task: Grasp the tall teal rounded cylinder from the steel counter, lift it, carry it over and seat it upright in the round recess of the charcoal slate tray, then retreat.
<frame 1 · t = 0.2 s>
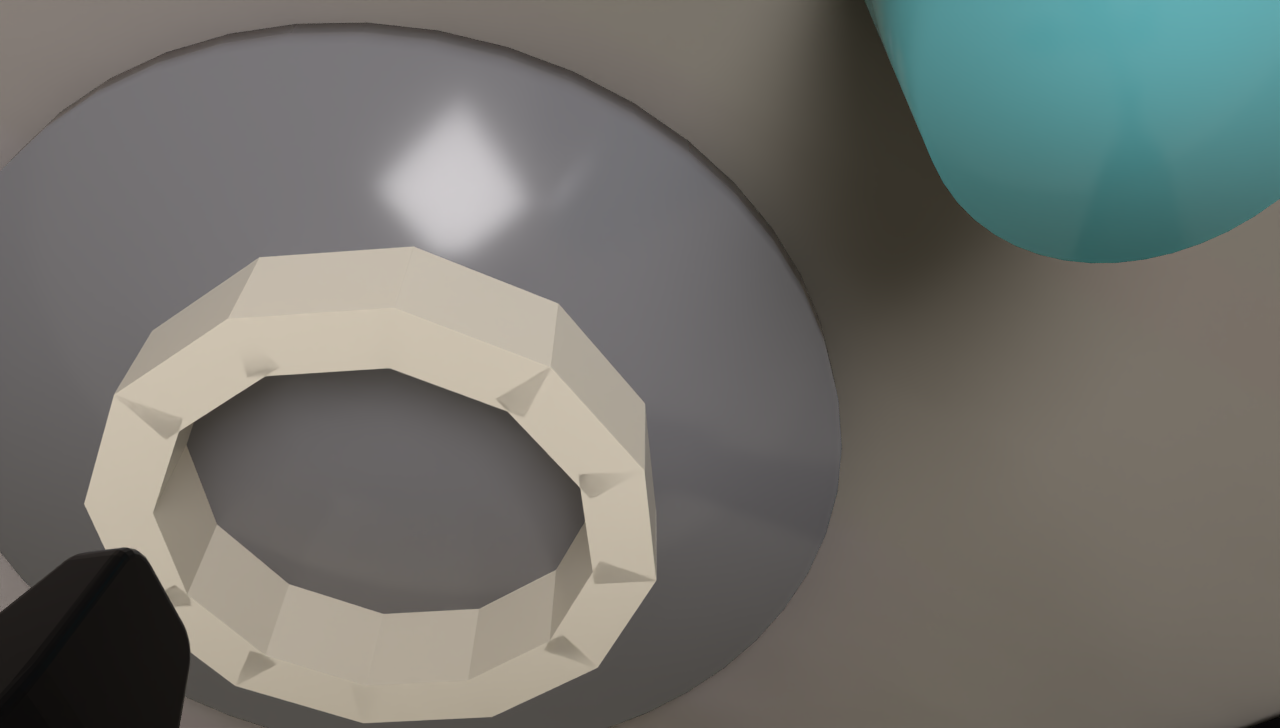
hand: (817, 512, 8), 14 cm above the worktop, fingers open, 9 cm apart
round tray: (403, 442, 25), on the worktop
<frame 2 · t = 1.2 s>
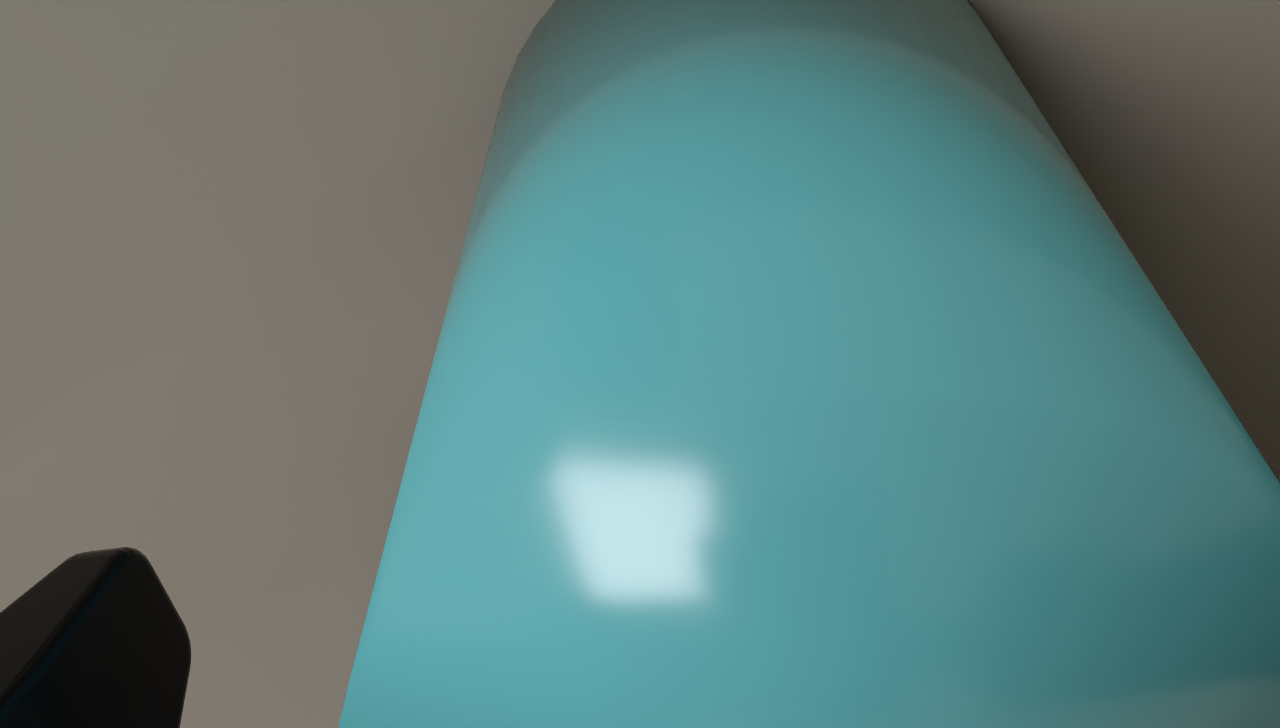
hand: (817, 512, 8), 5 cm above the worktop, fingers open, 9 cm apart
teal rounded cylinder: (752, 174, 12), on the worktop
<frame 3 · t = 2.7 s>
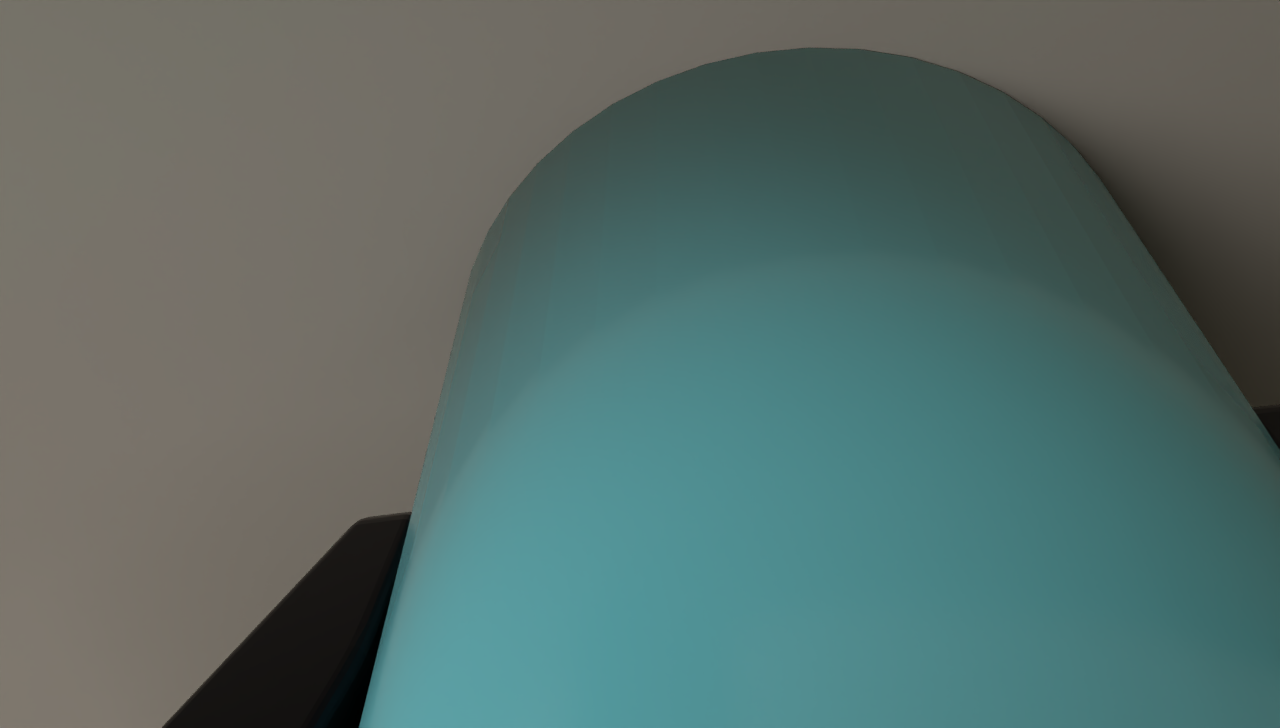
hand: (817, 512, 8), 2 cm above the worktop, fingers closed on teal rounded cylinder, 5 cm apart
teal rounded cylinder: (794, 372, 9), on the worktop, touching gripper
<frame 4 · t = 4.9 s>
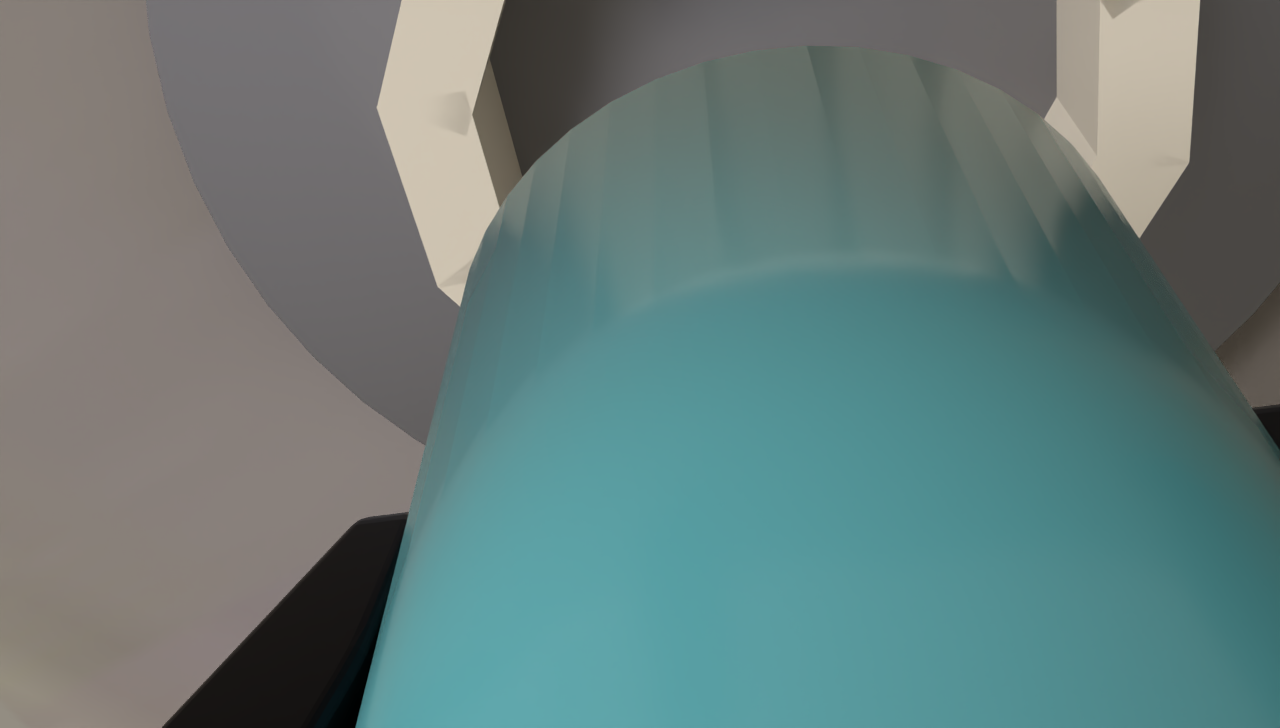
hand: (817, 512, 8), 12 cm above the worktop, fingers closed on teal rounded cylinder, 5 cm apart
round tray: (769, 52, 18), on the worktop
teal rounded cylinder: (793, 370, 9), point 10 cm above the worktop, touching gripper
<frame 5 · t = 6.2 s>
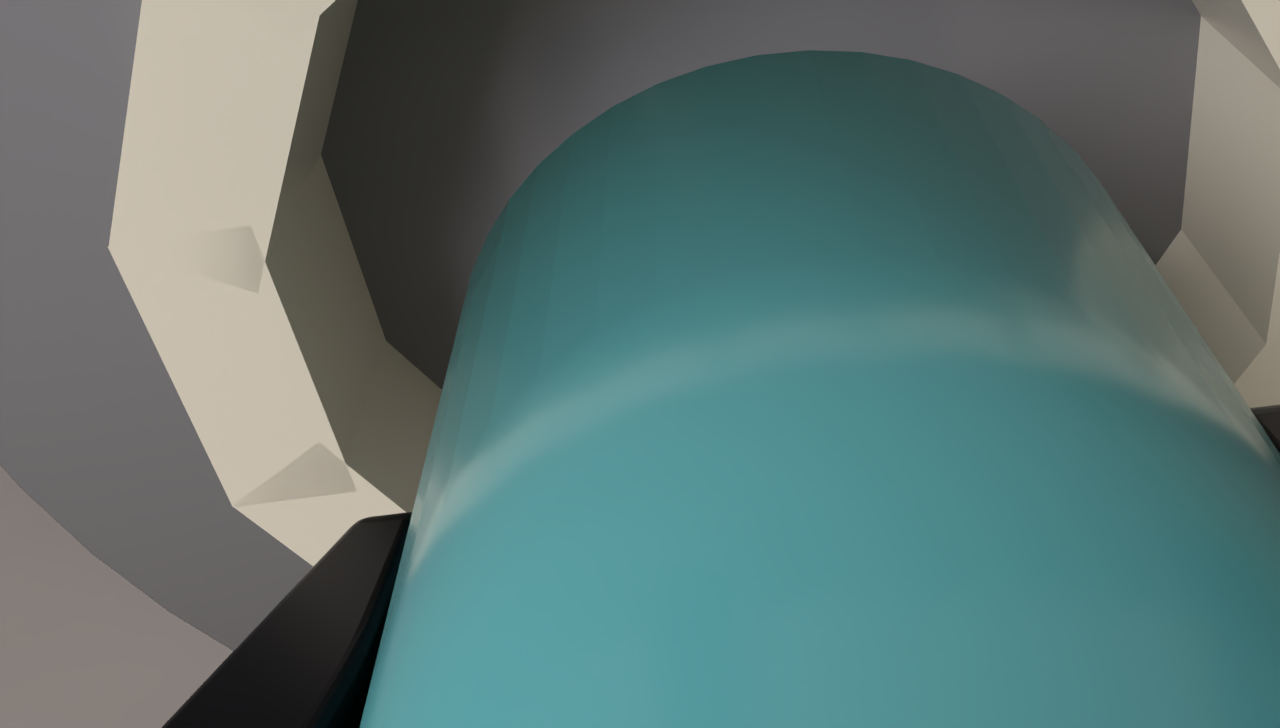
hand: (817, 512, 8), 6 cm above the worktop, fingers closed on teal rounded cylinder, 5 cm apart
round tray: (750, 147, 12), on the worktop
teal rounded cylinder: (794, 374, 9), point 4 cm above the worktop, touching gripper
when the fingers open (4 cm above the worktop, at t = 7.2 s): teal rounded cylinder drops 2 cm, resting on round tray.
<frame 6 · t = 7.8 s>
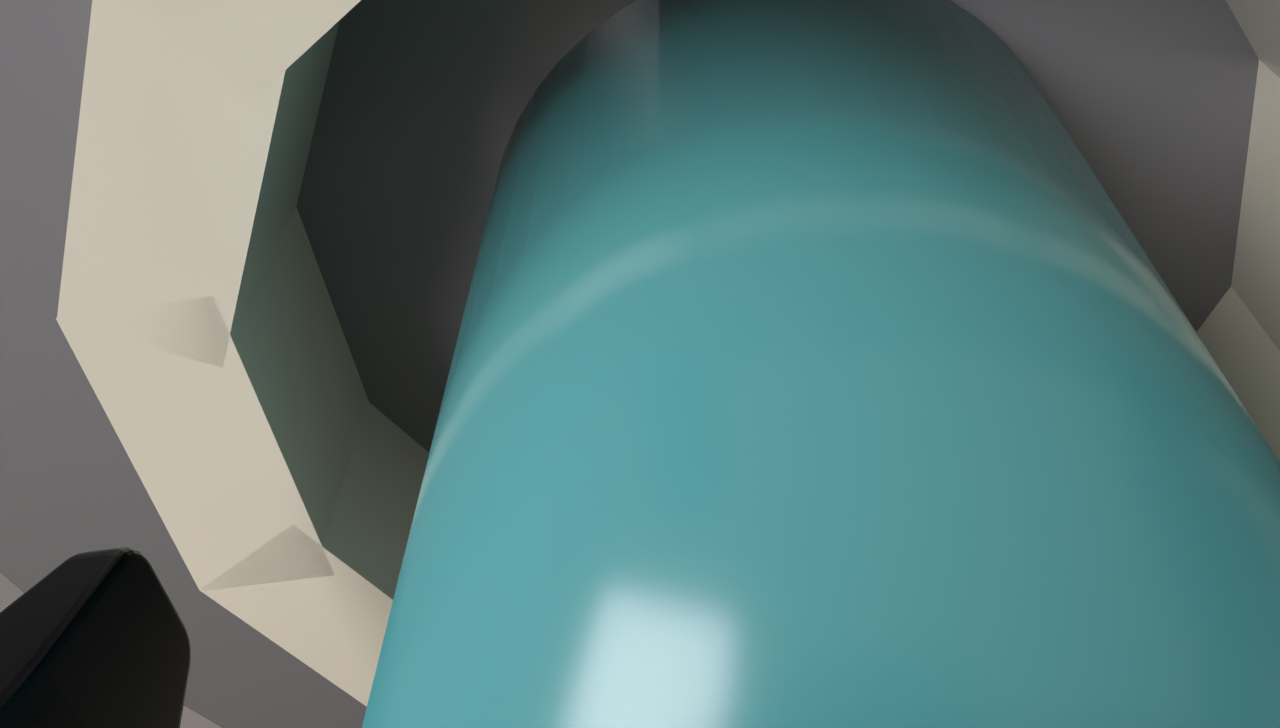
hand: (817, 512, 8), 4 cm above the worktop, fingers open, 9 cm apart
round tray: (763, 194, 12), on the worktop
teal rounded cylinder: (776, 247, 11), point 1 cm above the worktop, touching round tray
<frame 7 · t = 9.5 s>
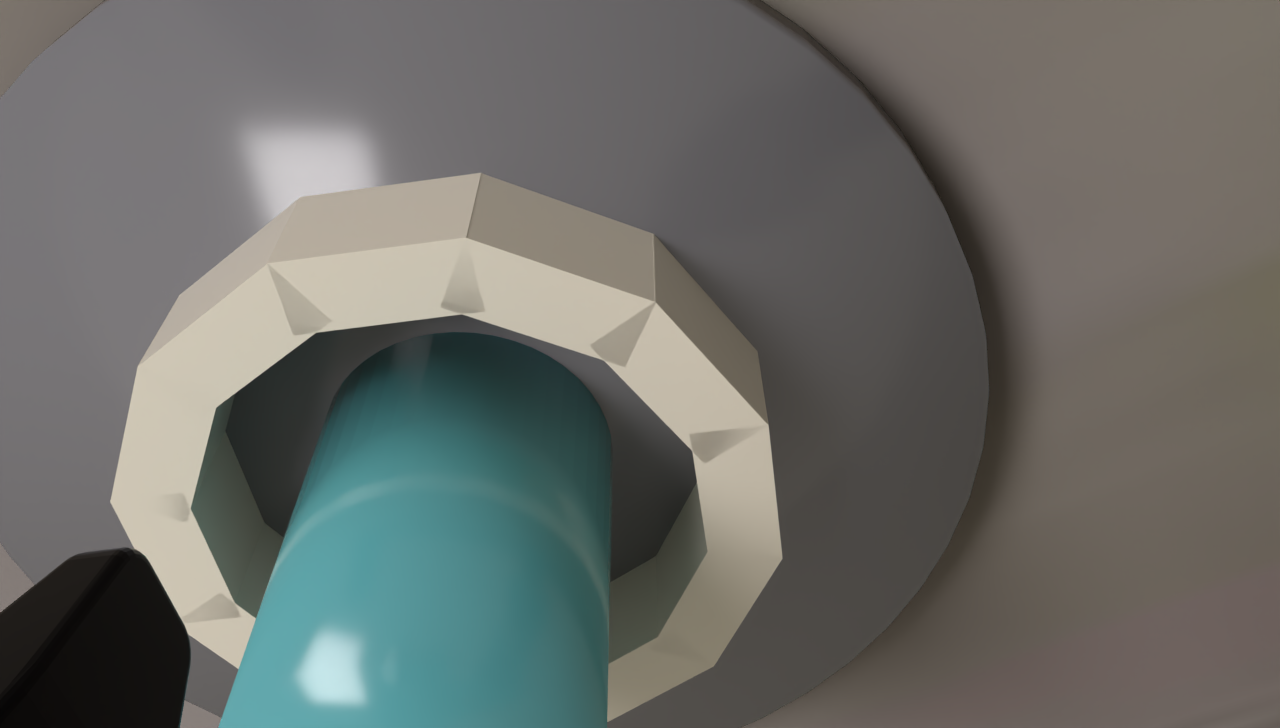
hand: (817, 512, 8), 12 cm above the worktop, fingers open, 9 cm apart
round tray: (473, 417, 22), on the worktop
teal rounded cylinder: (469, 452, 21), point 1 cm above the worktop, touching round tray
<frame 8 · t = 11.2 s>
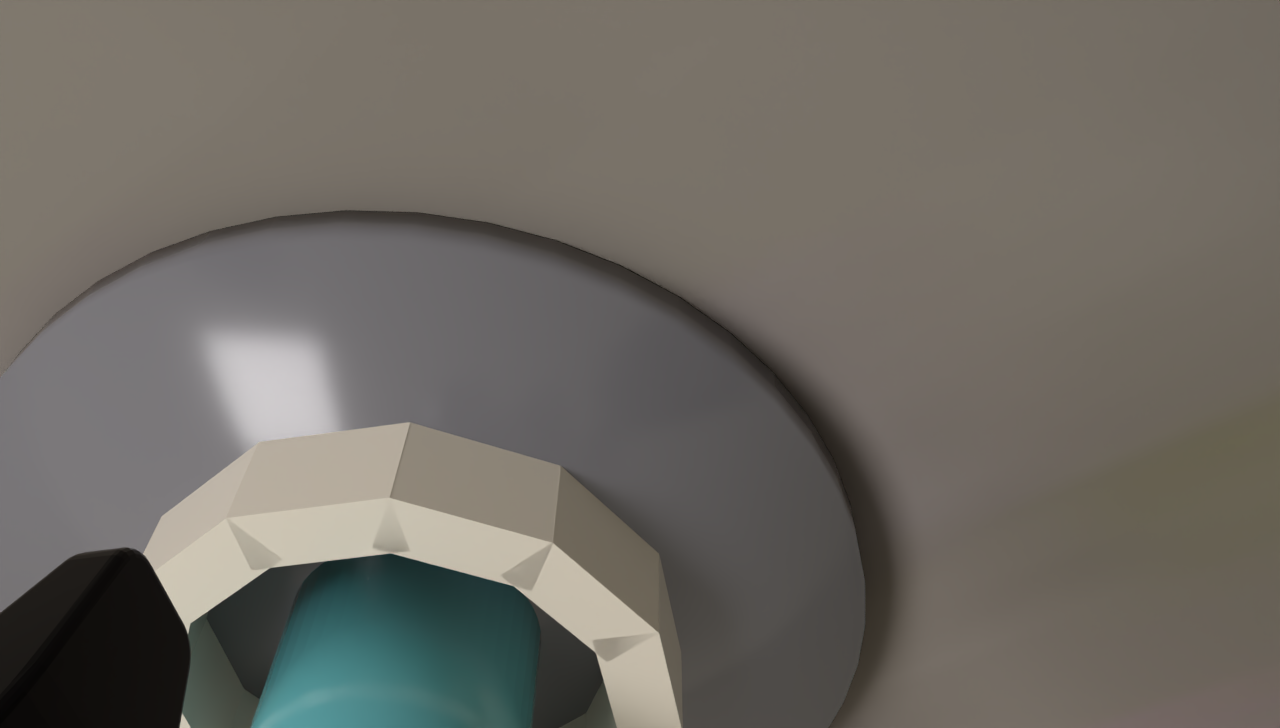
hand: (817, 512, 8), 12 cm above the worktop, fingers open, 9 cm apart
round tray: (422, 597, 25), on the worktop
teal rounded cylinder: (416, 633, 24), point 1 cm above the worktop, touching round tray
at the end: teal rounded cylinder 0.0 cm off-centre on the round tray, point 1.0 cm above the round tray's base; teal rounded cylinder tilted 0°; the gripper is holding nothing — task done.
